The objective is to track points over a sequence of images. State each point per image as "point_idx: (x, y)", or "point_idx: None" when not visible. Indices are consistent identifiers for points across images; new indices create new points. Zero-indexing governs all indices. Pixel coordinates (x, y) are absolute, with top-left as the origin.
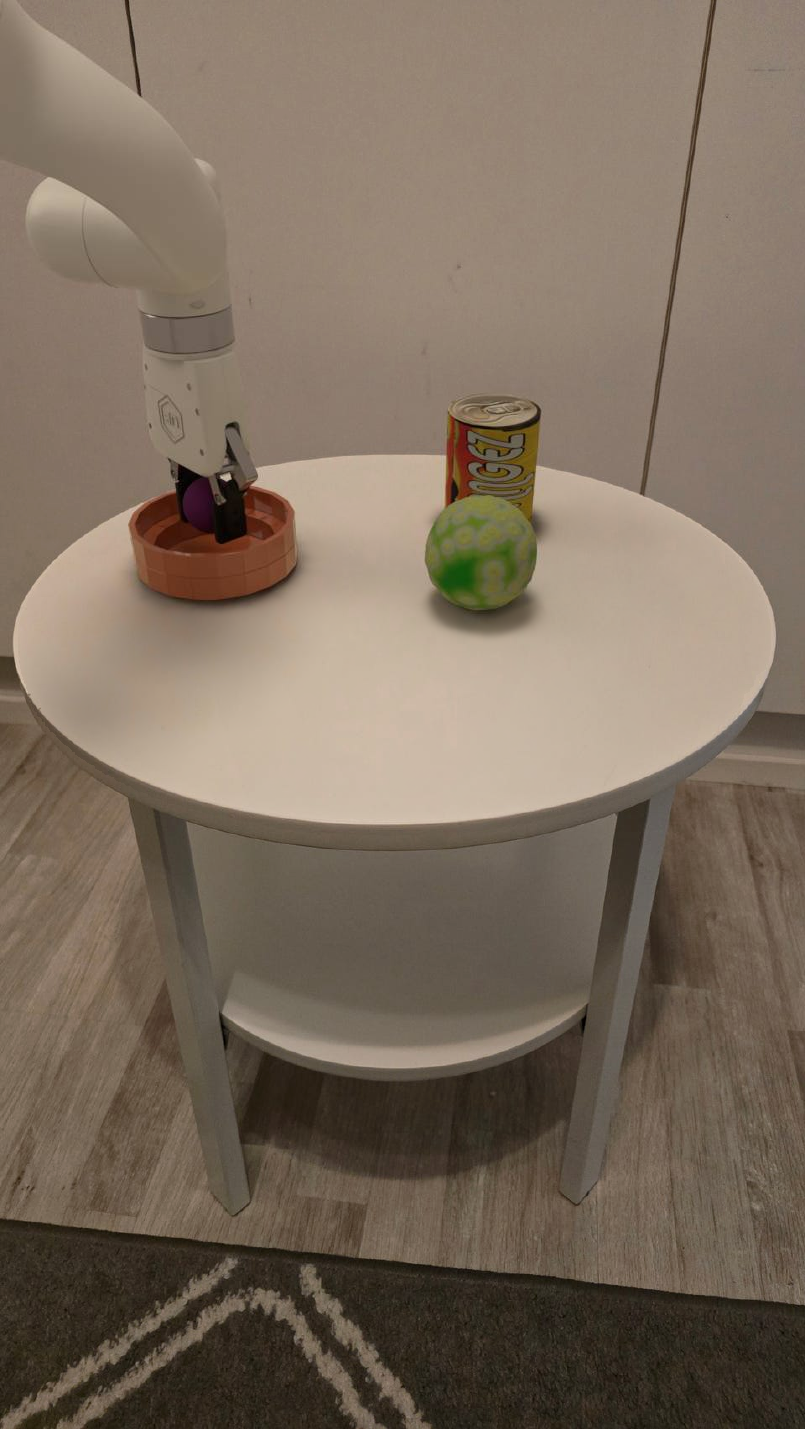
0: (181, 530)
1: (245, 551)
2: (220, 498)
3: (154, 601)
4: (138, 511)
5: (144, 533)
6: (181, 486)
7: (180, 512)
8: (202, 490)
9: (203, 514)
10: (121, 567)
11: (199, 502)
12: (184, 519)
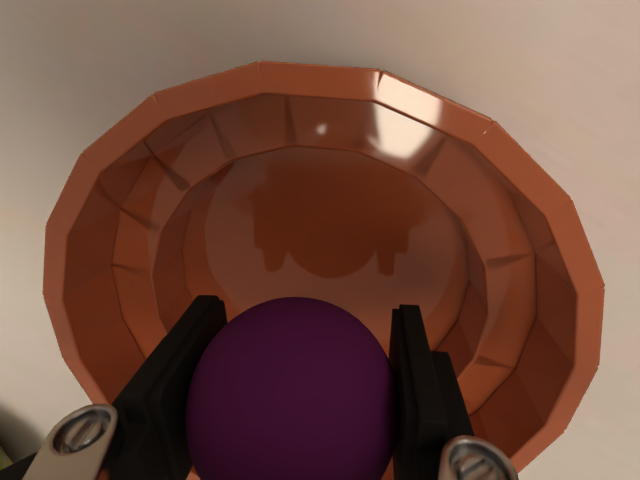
0: (477, 298)
1: (48, 303)
2: (51, 438)
3: (263, 54)
4: (559, 222)
5: (506, 195)
6: (407, 420)
7: (412, 323)
8: (226, 443)
9: (213, 343)
10: (507, 84)
11: (217, 380)
12: (398, 311)
